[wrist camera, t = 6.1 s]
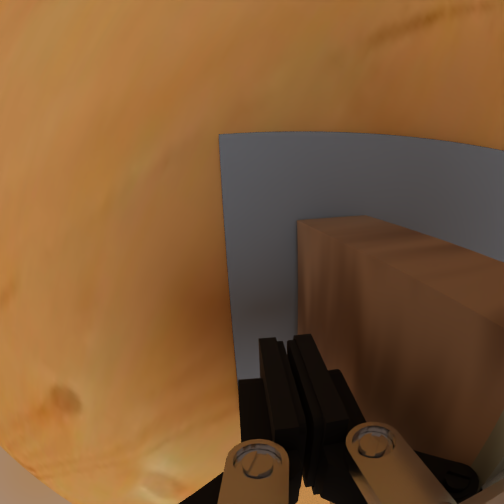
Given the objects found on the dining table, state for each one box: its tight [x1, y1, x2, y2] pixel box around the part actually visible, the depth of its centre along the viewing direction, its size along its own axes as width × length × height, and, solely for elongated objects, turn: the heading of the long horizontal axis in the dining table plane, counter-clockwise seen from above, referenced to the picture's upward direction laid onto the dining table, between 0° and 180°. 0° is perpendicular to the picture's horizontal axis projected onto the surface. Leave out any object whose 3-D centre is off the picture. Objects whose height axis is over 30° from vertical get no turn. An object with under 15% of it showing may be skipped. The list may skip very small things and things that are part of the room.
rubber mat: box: [219, 132, 504, 380], centre depth 16 cm, size 16×20×1 cm
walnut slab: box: [297, 215, 504, 490], centre depth 10 cm, size 8×4×12 cm, turn 3°
